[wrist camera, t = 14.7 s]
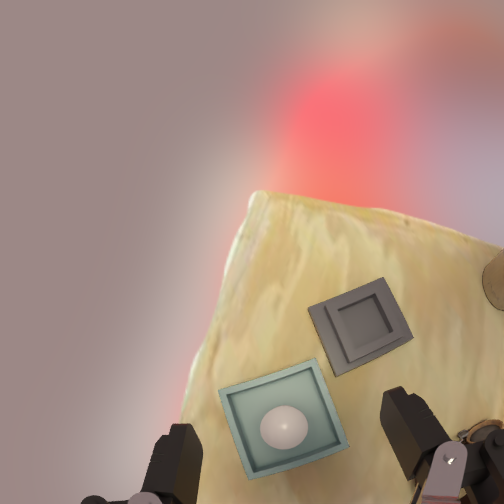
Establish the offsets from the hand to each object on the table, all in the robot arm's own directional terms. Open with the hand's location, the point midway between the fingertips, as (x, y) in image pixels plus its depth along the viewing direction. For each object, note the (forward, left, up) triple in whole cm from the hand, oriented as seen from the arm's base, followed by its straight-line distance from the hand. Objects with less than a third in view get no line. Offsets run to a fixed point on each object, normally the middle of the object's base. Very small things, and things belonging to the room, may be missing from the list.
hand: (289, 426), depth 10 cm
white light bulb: (+1, +1, -24) cm, 24 cm away
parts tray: (+1, +1, -25) cm, 25 cm away
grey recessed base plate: (-13, -7, -25) cm, 29 cm away
